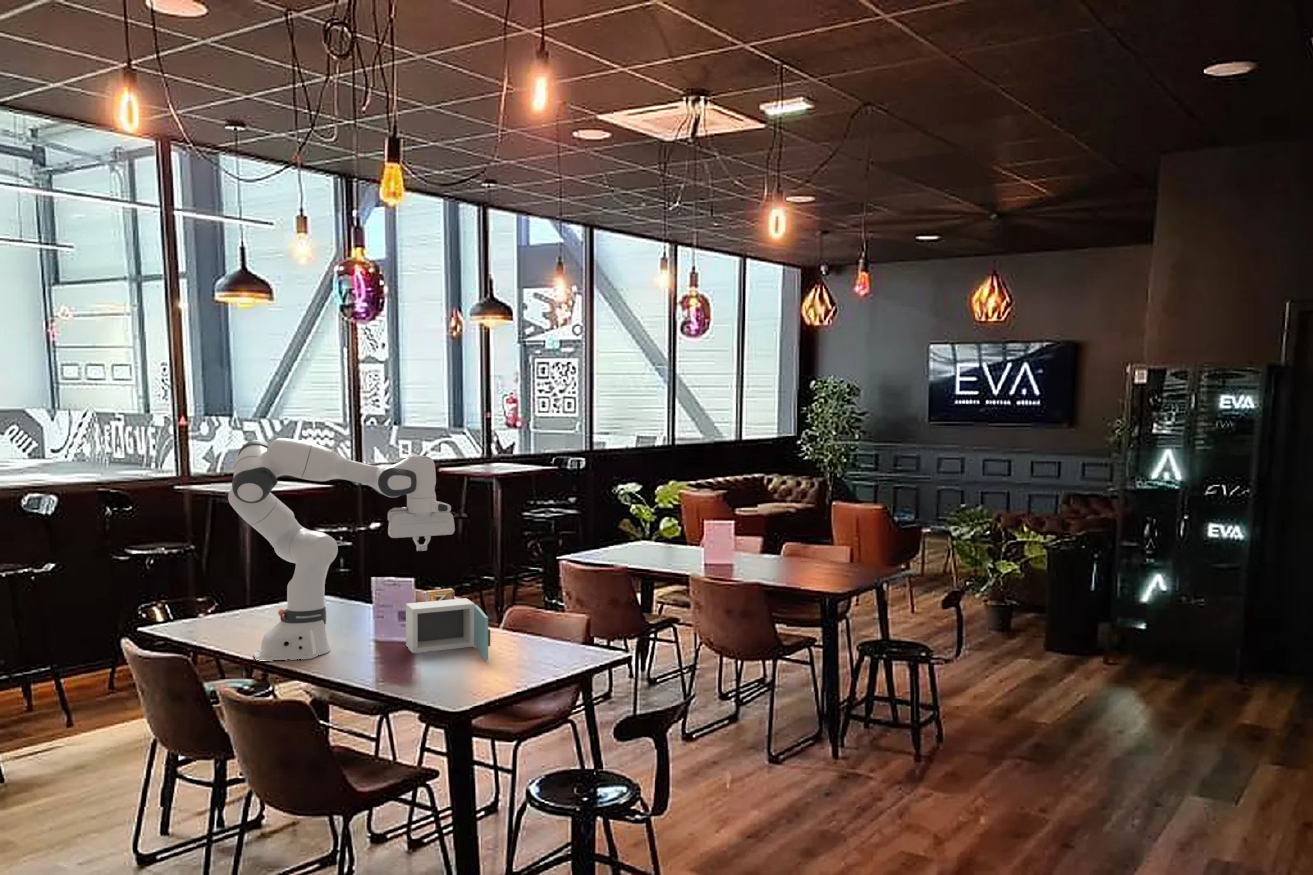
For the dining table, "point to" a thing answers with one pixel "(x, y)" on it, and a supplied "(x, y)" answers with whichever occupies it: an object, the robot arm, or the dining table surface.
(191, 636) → the dining table surface
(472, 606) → the case
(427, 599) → the candy box
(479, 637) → the door
